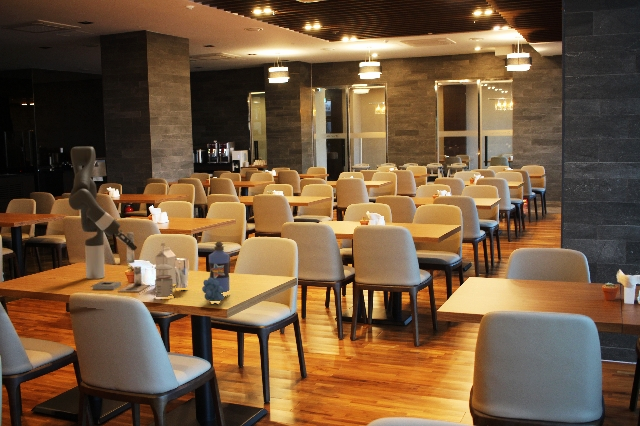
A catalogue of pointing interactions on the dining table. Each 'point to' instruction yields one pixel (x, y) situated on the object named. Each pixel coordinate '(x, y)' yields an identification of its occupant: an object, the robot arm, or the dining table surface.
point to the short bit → (137, 276)
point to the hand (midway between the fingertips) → (134, 248)
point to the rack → (134, 288)
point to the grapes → (212, 290)
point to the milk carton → (169, 260)
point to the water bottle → (220, 266)
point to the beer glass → (181, 272)
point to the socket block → (106, 285)
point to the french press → (166, 285)
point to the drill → (130, 252)
